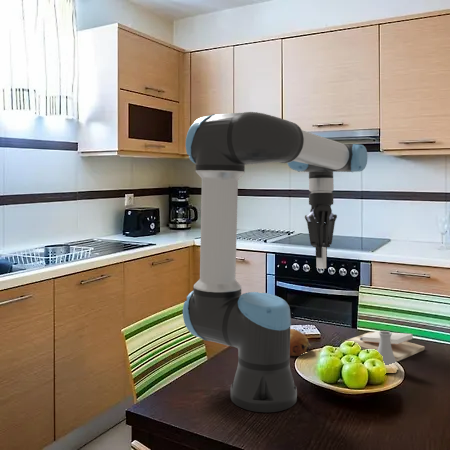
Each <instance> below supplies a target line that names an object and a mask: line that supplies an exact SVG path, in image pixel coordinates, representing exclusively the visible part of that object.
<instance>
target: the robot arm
mask: <svg viewBox="0 0 450 450" xmlns="http://www.w3.org/2000/svg"><path fill="white" fill-rule="evenodd" d="M186 133H187V134H186V137H185V151H186V155H188V159H189V161H190V162H192V163H193V164H195V173H196V174H197V175H198V176H199V177H200V178H201V197H200V198H201V200H200V201H201V203H200V207H201V208H200V212H201V213H200V251H199V252H200V254H199V257H200V259H199V262H200V263H199V279H198V280H197V281H196V282H195V283H194V284H193V290H192V291H191V292H189V293H188V295H186V300H185V301H184V302H183V306H182V317H183V318H182V319H183V323H184V326H185V327H186V329H187V330H188V332H190V334H192V335H193V336H194V337H197V338H199V339H202V340H203V341H207V342H212V343H217V344H221V345H224V346H227V347H233V348H235V349H237V350H238V351H237V358H238V362H237V367H236V370H235V374H234V378H233V381H232V383H231V385H230V400H231V402H232V403H233V404H234V405H235V406H237V407H239V408H242V409H243V410H247V411H251V412H256V413H277V412H281V411H285V410H288V409H291V408H292V407H293V406H294V405H296V403H297V401H298V398H297V397H298V390H297V385H296V384H295V382H294V377H293V372H292V370H291V367H290V365H291V364H290V362H291V360H290V359H291V358H290V357H291V356H290V329H291V325H292V320H291V309H290V305H289V304H288V302H287V301H286V300H285V299H283V298H282V297H279V296H277V295H276V294H275V295H274V294H272V293H267V292H258V291H250V292H249V291H248V292H245V293H242V289H243V287H242V285H241V284H240V283H239V282H238V281H237V279H236V278H237V277H236V274H237V272H236V270H237V269H236V267H237V238H238V237H237V234H238V233H237V232H238V230H237V229H238V223H237V222H238V189H239V187H238V186H239V183H238V182H239V180H240V178H241V177H242V176H243V175H244V174H245V169H246V168H245V165H257V164H267V163H280V164H287V165H288V167H289V168H290V169H291V170H293V171H297V172H299V173H300V172H302V173H303V172H304V173H305V172H306V173H308V191H309V192H310V193H309V194H308V205H309V206H311V207H310V209H309V210H310V212H309V214H305V215H304V219H305V222H306V225H307V229H308V237H309V242H310V246H312V247H313V248H315V259H316V266H315V267H316V269H323V270H324V269H327V256H328V248H330V247H331V246H332V244H333V238H334V236H333V235H334V231H335V224H336V220H337V218H338V215H337V214H334V213H333V209H332V206H333V205H334V194H333V191H334V187H335V186H334V172H338V173H339V172H341V173H342V172H343V173H358V172H363V171H364V170H365V168H366V167H367V165H368V151H367V148H366V146H364V144H357V143H356V144H355V143H352V144H351V143H350V144H347V143H344V142H339V141H337V140H333V139H330V138H326V137H324V136H321V135H317V134H315V133H312V132H309V131H306V130H303V129H302V128H301V126H299V125H298V124H297V123H295V122H292V121H290V120H287V119H284V118H280V117H278V116H275V115H271V114H267V113H264V112H263V113H262V112H258V111H257V112H254V111H245V112H233V113H232V112H231V113H230V112H229V113H213V114H211V115H210V114H209V115H206V116H205V115H204V116H201V117H199V118H197V119H196V120H194V122H193V123H192V124H191V125H190V127H189V129H188V131H187V132H186Z"/></svg>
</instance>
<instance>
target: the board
mask: <svg viewBox="0 0 450 450" xmlns="http://www.w3.org/2000/svg"><path fill="white" fill-rule="evenodd" d="M374 332H375V331H369V332H367V333H366V332H365V333H364V334H360V335H357V336H354V337H350V338H348V339H346V340H343V343H344V342H345V341H354V342H357V343H358V344H359V345H360V346H361V348H362V349H376V350H378V347H379V343H374V342H363V341H362V340H360V338H361V337H362V336H365V335H368V334H371V333H374ZM391 347H392V351H393V354H394V357H395V360H396V362H400V361H402V360H405V359H407V358H409V357H411V356H413V355H415V354H418V353H420V352H423V351H425V348H426V347H425V346H424V345H420V344H417V343H414V342H413V343H412V342H409V341H405V342H403V343H400V344H398V345H396V344H391Z"/></svg>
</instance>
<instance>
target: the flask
mask: <svg viewBox="0 0 450 450" xmlns="http://www.w3.org/2000/svg"><path fill="white" fill-rule="evenodd" d="M378 332H379V335H380V343H379V347H378V350H377V351H378V352H379V353H380V354H381V355H382V356H383V361H384V363H385V365H389V364H392V363H395V362H396V363H397V361H396V360H395V357H394V354H393V351H392V347H391V341H390V340H391V335H392V333H393V332H391V331H387V330H380V331H378Z"/></svg>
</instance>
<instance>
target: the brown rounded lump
mask: <svg viewBox="0 0 450 450" xmlns="http://www.w3.org/2000/svg"><path fill="white" fill-rule="evenodd" d="M310 347H312V345H311V344H310V343H309V339H308V338H307V336H306V335H305V334H304V333H303V332H301V331H300V330H298V329H296V328H290V357H300V355H301V354H303V353H305V352H308V351H309V352H310ZM309 352H308V353H309Z"/></svg>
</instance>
